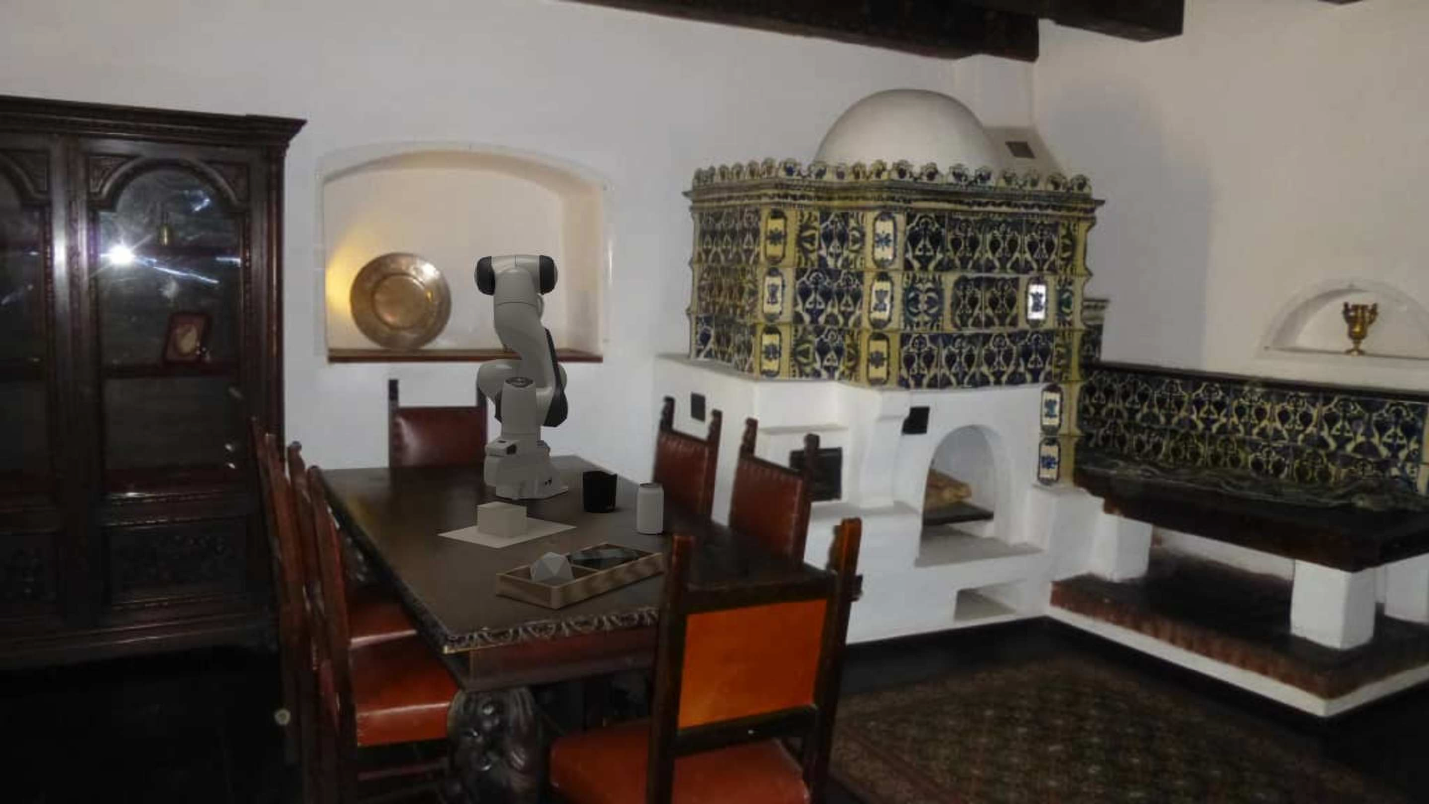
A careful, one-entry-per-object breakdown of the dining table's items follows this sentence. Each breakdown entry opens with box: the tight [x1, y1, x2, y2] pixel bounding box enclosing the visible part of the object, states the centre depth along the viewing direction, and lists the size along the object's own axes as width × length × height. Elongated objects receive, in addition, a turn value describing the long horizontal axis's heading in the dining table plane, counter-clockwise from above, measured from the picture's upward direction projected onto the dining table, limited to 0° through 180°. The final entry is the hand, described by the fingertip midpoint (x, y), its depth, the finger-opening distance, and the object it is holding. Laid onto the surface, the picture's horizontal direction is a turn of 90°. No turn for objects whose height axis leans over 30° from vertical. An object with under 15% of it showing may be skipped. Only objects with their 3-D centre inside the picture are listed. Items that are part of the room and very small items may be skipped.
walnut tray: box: [494, 541, 664, 610], centre depth 223 cm, size 35×16×4 cm, turn 147°
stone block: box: [569, 548, 638, 571], centre depth 229 cm, size 9×14×5 cm, turn 104°
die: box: [530, 551, 574, 586], centre depth 214 cm, size 8×9×10 cm
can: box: [636, 482, 665, 535], centre depth 268 cm, size 6×6×12 cm
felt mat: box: [437, 516, 577, 549], centre depth 264 cm, size 28×20×1 cm
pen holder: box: [582, 470, 618, 514], centre depth 292 cm, size 9×9×10 cm
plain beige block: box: [476, 501, 527, 538], centre depth 261 cm, size 6×10×6 cm
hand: (518, 498), depth 266 cm, fingers closed
